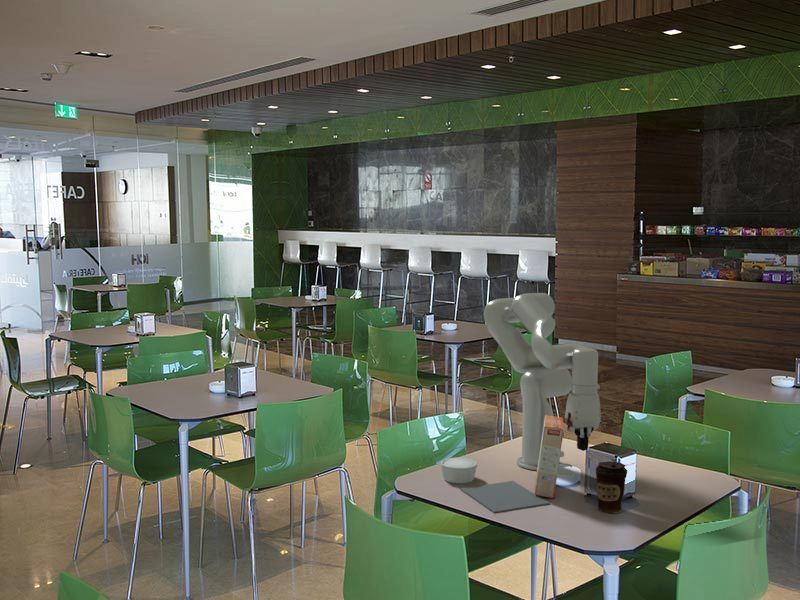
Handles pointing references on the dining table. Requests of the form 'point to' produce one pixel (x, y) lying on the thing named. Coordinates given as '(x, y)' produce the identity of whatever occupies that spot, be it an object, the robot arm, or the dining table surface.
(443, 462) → the ramekin
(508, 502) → the rubber mat
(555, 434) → the cracker box
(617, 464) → the coffee cup
